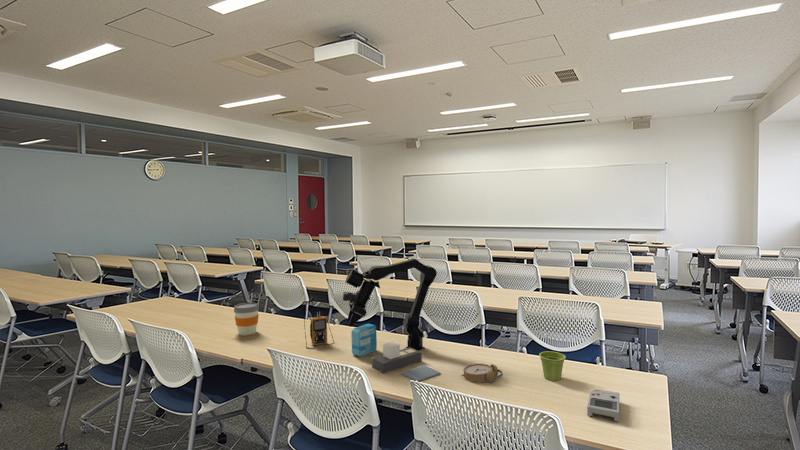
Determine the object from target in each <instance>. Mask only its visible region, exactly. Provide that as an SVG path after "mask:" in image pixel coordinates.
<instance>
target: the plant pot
mask: <svg viewBox="0 0 800 450" xmlns="http://www.w3.org/2000/svg"><path fill="white" fill-rule="evenodd" d="M538 355H539V358H540V361H541V366H542V373H543V377H544V379H545V380H549V381H552V382H557V381H559V380H561V379H562V373H563V368H564V363H565V360H566V355H565V354H563V353H560V352H558V351H557V352H556V351H542V352H540V353H539V354H538Z"/></svg>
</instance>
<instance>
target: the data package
mask: <svg viewBox="0 0 800 450" xmlns="http://www.w3.org/2000/svg"><path fill="white" fill-rule="evenodd" d="M350 333H351V353H352V355H354V356H357V357H364V356H366V355H368V354H370V353H373V352H375V351H376V350H377V347H378V346H377V345H378V344H377V342H378V341H377V326H376V324H371V323H365V324H363V325H360V326H359V325H358V326H357V327H354V328H353V329H351V331H350Z"/></svg>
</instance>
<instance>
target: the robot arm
mask: <svg viewBox="0 0 800 450" xmlns="http://www.w3.org/2000/svg"><path fill="white" fill-rule="evenodd" d="M411 269H415V270H417V271H419V272H420V275H419V286H418V289H417V292H416V294H415V298H414V301H413V303H412V306H411V310H410V312H409V314H406V313H405V314H404V319H403V321H402V323H403V328H404V330H405V331H406V333H408V334H409V335H407V340H406V341H407V343H406V344H407V346H406V347H405V348H409V347H411V348H413V349H415V350H418V351H421V350H425V348H426V347H425V346H424V345H423V344H424V342H423V337H424V332H423V331H422V330H421V329H420V322H421V321H420V315H421V312H422V309H423V306H424V303H425V300H426V296H427V294H428V292H429V288H430V286H431V285H432V284H433V282H434V280H435V279H436V277H437V275H438V274H437V273H438V272H437V270H436V268H434V267H432V266H430V265H425V264H424V263H422V262H420V261H419V260H418V259H417V258H413V257H412V258H410V259H407V260H403V261H400V262H394V263H391V264H388V265H374V266H371V267H369V268H368V270H367V271H364V272H362V273H361V272H360V271H357V270H356V269H354V268H352V269H351V271H350V272H349V273H348V274H347V276H346V278H345V281H344V282H345V283H346V284H348V285H349V286H352V287H354V288H355V289H357V288H359V289H358V290H357V291H356V292H349V291H348V292H347V291H343V294H342V301H343V302H347V301H348V304H349V307H350V308H349V313H348V316H347V322H348V327H352V326H353V325H355V324H356V323H357V322H358V321H360V320H361V319H362V318H364V317H365V316H366V314H367V309H366V308H367V303H368V302H369V301H370V300H371V296H372V294H373V292H374V290H375V288H378V289H380V288H381V286H380V282H379V281H380V280H382V279H384V278H386V277H388V276H389V275H391V274H395V273H400V272H403V271H407V270H411Z"/></svg>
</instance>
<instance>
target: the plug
mask: <svg viewBox="0 0 800 450" xmlns="http://www.w3.org/2000/svg"><path fill="white" fill-rule="evenodd" d="M400 350H401V345H400V344H399V343H397V342H394V341H390V342H387V343H383V344H382V355H383V356H384V357H386V358H388V359H393V358H397V357H400Z"/></svg>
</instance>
